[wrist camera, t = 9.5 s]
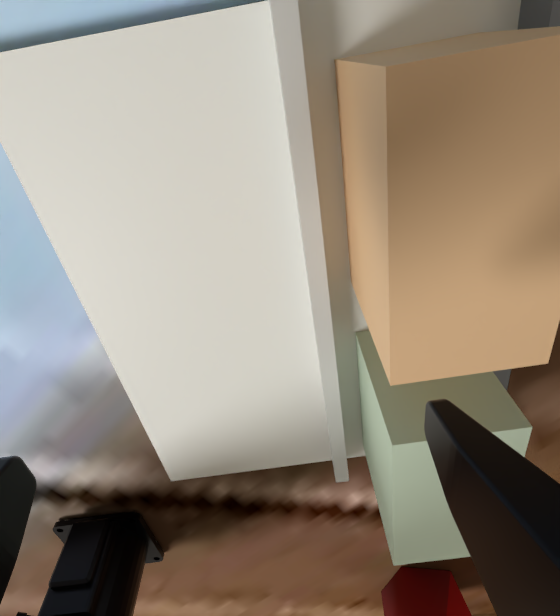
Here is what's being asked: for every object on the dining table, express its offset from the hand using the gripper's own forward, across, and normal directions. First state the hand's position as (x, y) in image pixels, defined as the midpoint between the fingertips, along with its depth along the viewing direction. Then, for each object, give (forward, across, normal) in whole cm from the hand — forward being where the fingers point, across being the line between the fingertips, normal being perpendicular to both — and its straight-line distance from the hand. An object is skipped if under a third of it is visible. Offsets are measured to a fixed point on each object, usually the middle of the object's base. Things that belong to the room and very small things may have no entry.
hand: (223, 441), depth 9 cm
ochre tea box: (+10, -7, -2) cm, 13 cm away
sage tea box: (+11, -8, +10) cm, 16 cm away
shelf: (+11, -2, +3) cm, 12 cm away
